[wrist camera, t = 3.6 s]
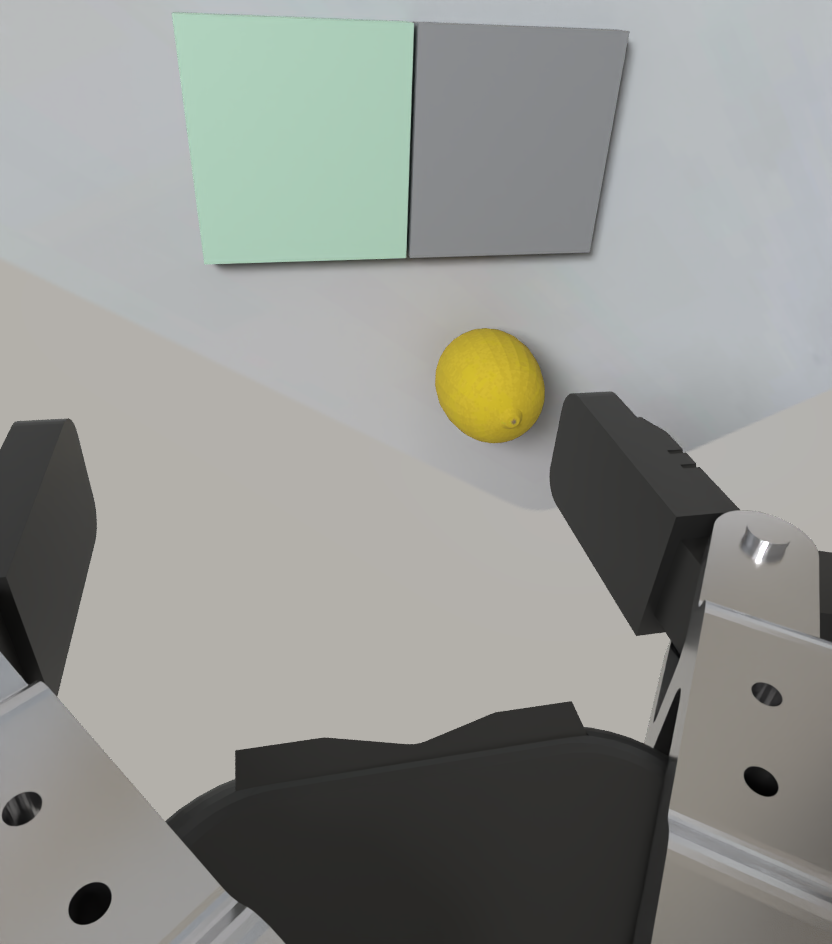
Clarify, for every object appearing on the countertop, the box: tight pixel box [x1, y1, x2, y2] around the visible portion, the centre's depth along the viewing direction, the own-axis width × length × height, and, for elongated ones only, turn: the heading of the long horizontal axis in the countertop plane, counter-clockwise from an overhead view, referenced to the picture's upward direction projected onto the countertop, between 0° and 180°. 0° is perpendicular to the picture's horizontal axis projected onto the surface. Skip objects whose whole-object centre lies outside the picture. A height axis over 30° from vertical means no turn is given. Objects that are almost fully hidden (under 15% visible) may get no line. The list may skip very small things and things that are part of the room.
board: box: [172, 12, 630, 264], centre depth 33 cm, size 20×10×1 cm, turn 87°
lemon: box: [435, 328, 545, 443], centre depth 38 cm, size 6×6×8 cm
